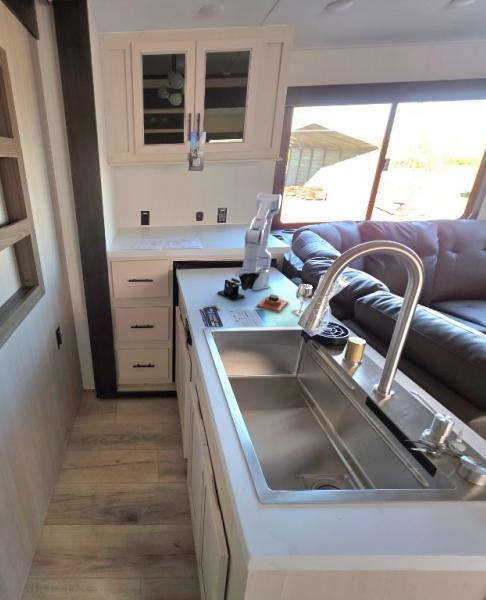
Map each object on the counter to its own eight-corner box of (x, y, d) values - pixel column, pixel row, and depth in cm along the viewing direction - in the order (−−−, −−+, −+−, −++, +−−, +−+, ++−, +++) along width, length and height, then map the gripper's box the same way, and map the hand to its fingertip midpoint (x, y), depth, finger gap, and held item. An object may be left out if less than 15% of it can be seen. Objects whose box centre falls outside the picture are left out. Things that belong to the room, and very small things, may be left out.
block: (267, 298, 143) (268, 292, 142) (287, 303, 138) (288, 297, 137) (257, 307, 135) (258, 300, 134) (278, 313, 130) (279, 306, 128)
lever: (252, 288, 136) (252, 281, 135) (247, 289, 134) (247, 283, 134) (232, 286, 146) (231, 279, 145) (227, 287, 144) (227, 281, 144)
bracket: (244, 298, 144) (246, 282, 141) (233, 301, 140) (235, 285, 137) (228, 291, 152) (230, 275, 148) (217, 293, 148) (219, 278, 145)
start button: (270, 297, 138) (271, 293, 137) (279, 299, 136) (279, 296, 135) (267, 300, 135) (268, 296, 134) (276, 302, 133) (277, 298, 132)
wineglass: (300, 317, 126) (307, 289, 121) (288, 312, 130) (294, 285, 125) (310, 314, 128) (316, 287, 123) (298, 309, 133) (304, 282, 128)
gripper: (246, 263, 124) (241, 295, 130) (270, 258, 131) (265, 288, 137) (233, 259, 130) (229, 289, 136) (257, 254, 137) (252, 283, 142)
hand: (246, 289), depth 136 cm, fingers closed on lever, 3 cm apart
